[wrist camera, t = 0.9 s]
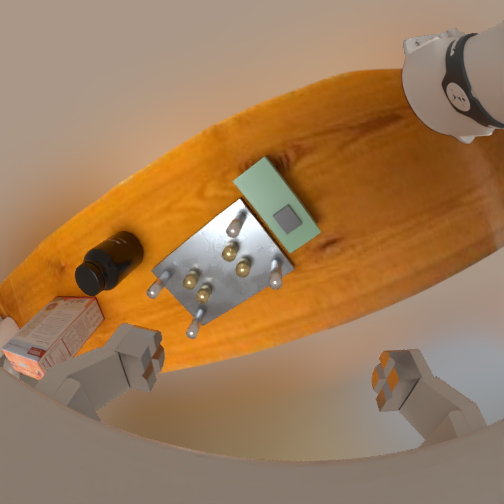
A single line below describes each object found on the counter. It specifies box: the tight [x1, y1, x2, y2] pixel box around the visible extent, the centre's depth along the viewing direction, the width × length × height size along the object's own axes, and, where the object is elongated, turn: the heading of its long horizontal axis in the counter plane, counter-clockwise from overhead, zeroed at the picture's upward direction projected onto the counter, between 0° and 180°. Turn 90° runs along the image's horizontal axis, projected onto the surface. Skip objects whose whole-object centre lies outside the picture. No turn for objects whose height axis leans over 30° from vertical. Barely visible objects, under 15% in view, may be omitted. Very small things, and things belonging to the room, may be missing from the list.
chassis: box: [147, 198, 294, 339], centre depth 40 cm, size 19×13×7 cm
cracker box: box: [2, 297, 104, 380], centre depth 41 cm, size 14×6×21 cm, turn 97°
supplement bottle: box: [75, 232, 143, 296], centre depth 38 cm, size 7×7×12 cm
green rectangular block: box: [233, 156, 321, 253], centre depth 36 cm, size 12×5×5 cm, turn 38°
